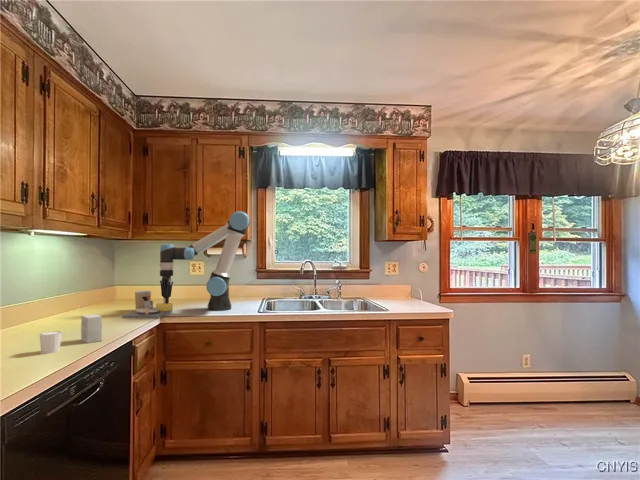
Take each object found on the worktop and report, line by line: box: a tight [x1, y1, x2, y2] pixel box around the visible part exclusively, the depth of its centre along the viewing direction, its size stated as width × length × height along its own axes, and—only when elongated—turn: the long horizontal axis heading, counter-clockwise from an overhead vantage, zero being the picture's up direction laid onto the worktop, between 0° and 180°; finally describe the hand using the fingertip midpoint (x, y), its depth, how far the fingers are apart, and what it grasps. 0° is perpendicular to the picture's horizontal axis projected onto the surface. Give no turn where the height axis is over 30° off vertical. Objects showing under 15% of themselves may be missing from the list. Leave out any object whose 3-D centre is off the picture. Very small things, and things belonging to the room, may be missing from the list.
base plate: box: [122, 308, 173, 319], centre depth 219 cm, size 20×20×6 cm
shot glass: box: [39, 330, 63, 355], centre depth 142 cm, size 7×7×7 cm
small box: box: [80, 313, 103, 344], centre depth 159 cm, size 8×6×10 cm
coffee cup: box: [134, 290, 152, 310], centre depth 235 cm, size 9×9×12 cm
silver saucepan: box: [135, 300, 174, 314], centre depth 220 cm, size 20×13×6 cm, turn 114°
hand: (165, 308), depth 226 cm, fingers closed
